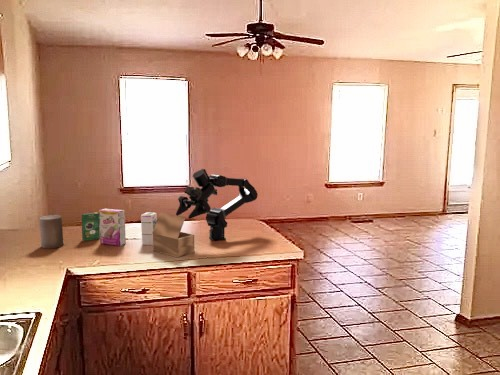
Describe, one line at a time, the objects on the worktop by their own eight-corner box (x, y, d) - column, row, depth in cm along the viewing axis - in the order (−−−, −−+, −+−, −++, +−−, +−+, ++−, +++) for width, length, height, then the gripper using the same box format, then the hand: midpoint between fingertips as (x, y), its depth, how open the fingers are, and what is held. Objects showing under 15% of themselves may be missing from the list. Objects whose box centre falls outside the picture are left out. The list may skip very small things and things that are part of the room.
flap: (161, 212, 222) (160, 212, 222) (185, 217, 212) (185, 217, 212) (152, 233, 219) (152, 233, 219) (177, 239, 209) (176, 239, 209)
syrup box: (153, 245, 230) (152, 214, 228) (141, 244, 231) (140, 214, 229) (158, 242, 235) (157, 212, 233) (146, 241, 237) (145, 211, 234)
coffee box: (98, 237, 243) (97, 211, 241) (100, 238, 241) (99, 212, 239) (82, 240, 238) (80, 213, 236) (84, 241, 236) (83, 214, 234)
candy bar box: (99, 244, 231) (98, 210, 229) (106, 241, 236) (104, 208, 233) (120, 246, 228) (118, 211, 225) (126, 243, 232) (125, 209, 230)
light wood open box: (170, 246, 228) (169, 229, 227) (194, 252, 218) (194, 234, 217) (153, 250, 220) (152, 233, 219) (177, 257, 210) (177, 239, 209)
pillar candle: (68, 244, 231) (66, 213, 229) (51, 249, 222) (49, 216, 220) (52, 242, 235) (50, 211, 233) (36, 247, 226) (34, 215, 224)
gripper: (183, 179, 234) (161, 201, 227) (209, 183, 221) (186, 206, 214) (194, 196, 240) (173, 218, 233) (219, 201, 227) (198, 224, 219)
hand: (182, 216), depth 224 cm, fingers open, 9 cm apart
